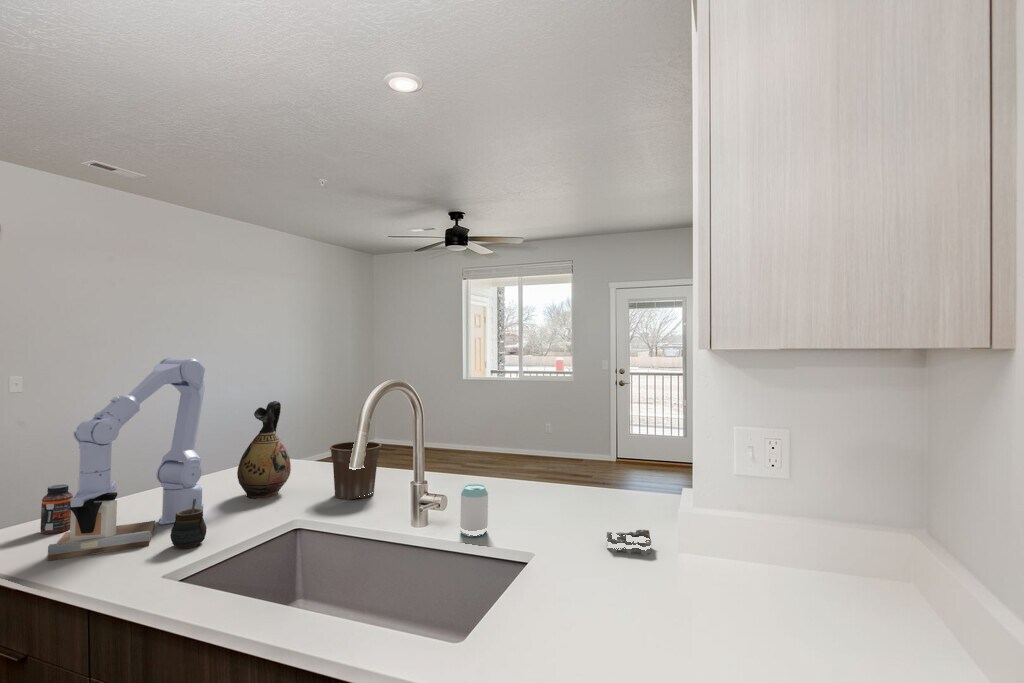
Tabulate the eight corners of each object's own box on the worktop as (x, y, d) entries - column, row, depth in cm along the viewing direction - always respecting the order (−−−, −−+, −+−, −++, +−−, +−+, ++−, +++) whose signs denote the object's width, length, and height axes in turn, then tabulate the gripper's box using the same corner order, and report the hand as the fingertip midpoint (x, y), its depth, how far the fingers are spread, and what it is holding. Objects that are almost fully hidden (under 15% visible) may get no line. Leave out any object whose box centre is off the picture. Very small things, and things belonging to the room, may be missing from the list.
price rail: (149, 539, 120) (149, 530, 120) (148, 540, 119) (149, 532, 119) (49, 553, 111) (49, 544, 111) (47, 555, 110) (48, 546, 110)
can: (492, 531, 132) (492, 485, 133) (479, 540, 126) (480, 491, 126) (468, 526, 135) (469, 482, 135) (455, 535, 129) (455, 488, 129)
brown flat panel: (154, 525, 133) (154, 520, 133) (148, 545, 119) (149, 540, 119) (65, 537, 124) (65, 532, 124) (47, 560, 110) (47, 555, 110)
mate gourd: (167, 553, 115) (169, 509, 115) (172, 542, 122) (173, 500, 122) (204, 548, 118) (205, 505, 119) (207, 537, 125) (208, 497, 125)
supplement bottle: (52, 535, 125) (54, 489, 125) (33, 533, 126) (35, 488, 126) (78, 527, 130) (79, 483, 131) (59, 525, 132) (61, 482, 132)
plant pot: (343, 487, 173) (344, 439, 173) (388, 489, 171) (388, 441, 171) (318, 500, 157) (319, 448, 157) (367, 503, 155) (368, 450, 155)
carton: (81, 535, 119) (82, 501, 119) (115, 533, 121) (116, 500, 121) (69, 542, 114) (70, 507, 115) (105, 540, 116) (106, 505, 116)
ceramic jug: (276, 502, 154) (278, 404, 155) (226, 501, 155) (229, 403, 155) (300, 487, 171) (302, 399, 172) (255, 487, 172) (257, 398, 172)
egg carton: (651, 546, 124) (651, 529, 124) (651, 558, 117) (651, 540, 117) (607, 541, 127) (607, 524, 127) (604, 552, 120) (605, 535, 120)
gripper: (97, 477, 112) (95, 538, 111) (130, 463, 126) (128, 517, 125) (60, 478, 110) (58, 541, 110) (97, 464, 124) (95, 519, 124)
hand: (93, 529), depth 117 cm, fingers closed on carton, 4 cm apart
